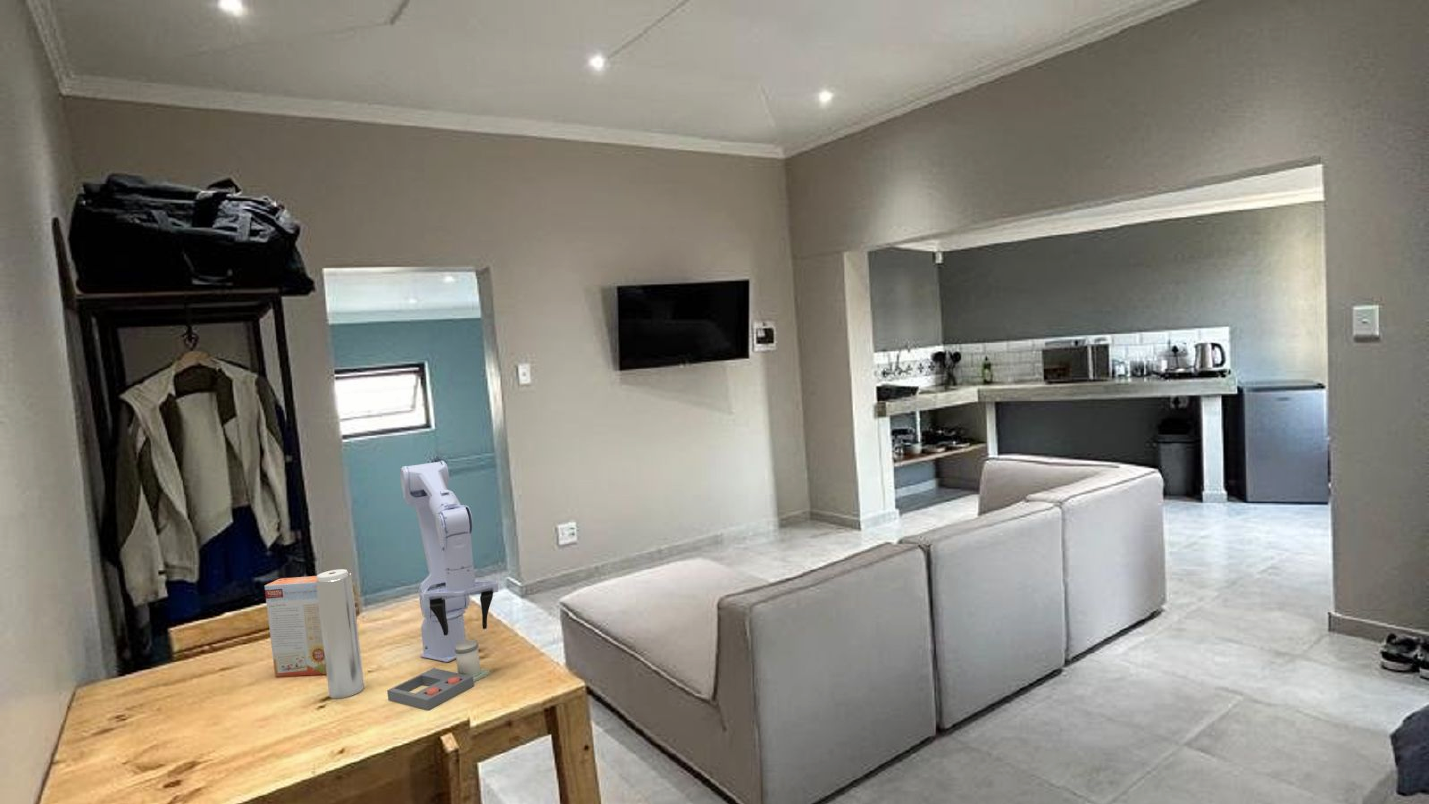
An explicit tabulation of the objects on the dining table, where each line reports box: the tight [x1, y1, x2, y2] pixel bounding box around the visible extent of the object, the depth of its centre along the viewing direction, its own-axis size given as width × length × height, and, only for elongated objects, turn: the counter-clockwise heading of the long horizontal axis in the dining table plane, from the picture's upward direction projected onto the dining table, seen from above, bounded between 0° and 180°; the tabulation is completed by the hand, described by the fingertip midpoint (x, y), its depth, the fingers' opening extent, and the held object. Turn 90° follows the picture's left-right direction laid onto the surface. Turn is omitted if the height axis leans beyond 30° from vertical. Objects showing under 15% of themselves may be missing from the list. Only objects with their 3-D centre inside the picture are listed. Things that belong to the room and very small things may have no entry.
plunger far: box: [448, 676, 460, 685], centre depth 148 cm, size 2×2×2 cm
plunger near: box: [427, 687, 439, 696], centre depth 144 cm, size 2×2×2 cm
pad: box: [473, 668, 490, 683], centre depth 155 cm, size 6×5×1 cm
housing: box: [386, 667, 475, 711], centre depth 148 cm, size 12×11×2 cm
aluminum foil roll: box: [316, 568, 365, 700], centre depth 152 cm, size 6×6×25 cm
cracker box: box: [264, 575, 327, 678], centre depth 165 cm, size 14×6×21 cm, turn 84°
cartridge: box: [455, 639, 482, 677], centre depth 154 cm, size 5×5×6 cm
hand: (465, 630), depth 154 cm, fingers open, 7 cm apart
